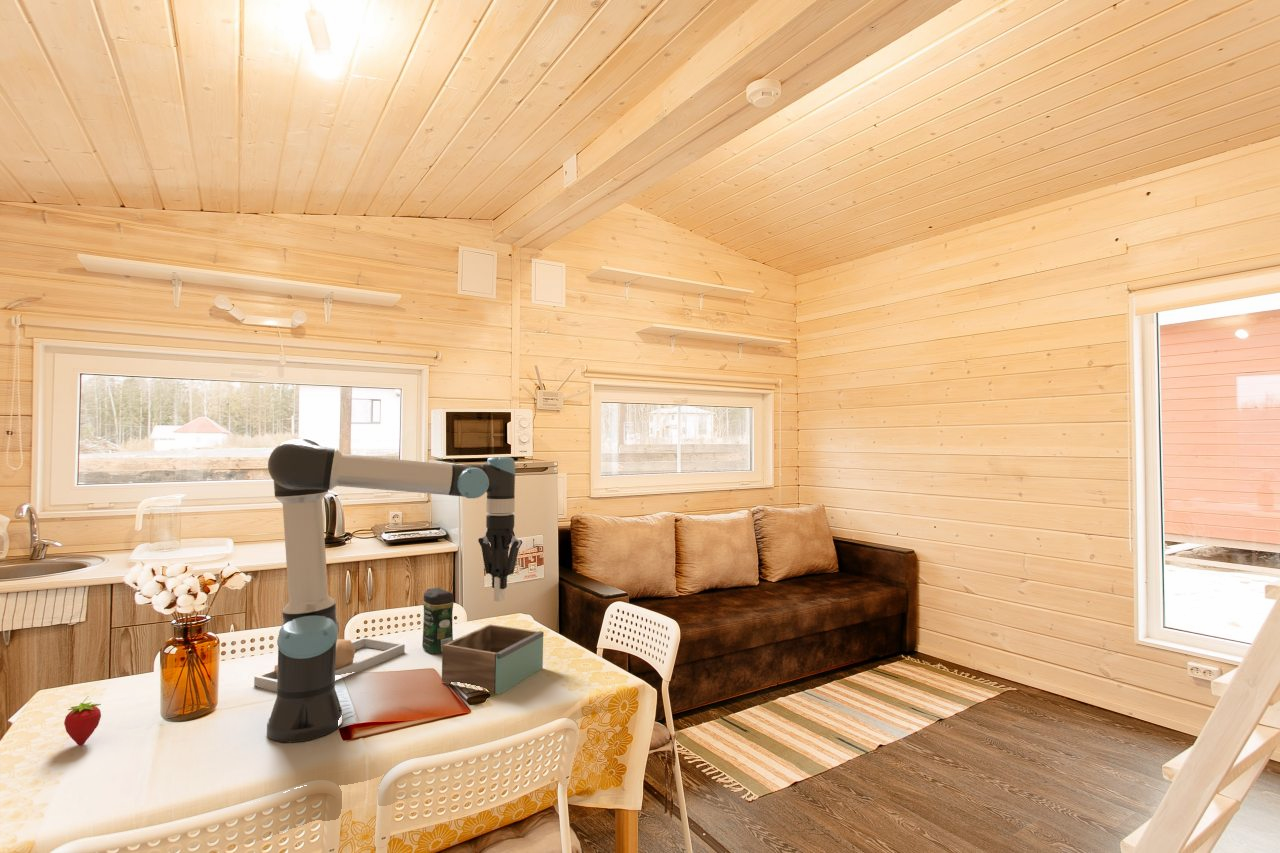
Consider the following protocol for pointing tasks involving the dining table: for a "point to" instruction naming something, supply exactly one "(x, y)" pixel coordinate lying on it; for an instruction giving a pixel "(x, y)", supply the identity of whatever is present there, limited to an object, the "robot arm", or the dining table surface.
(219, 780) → the dining table surface
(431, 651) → the coffee jar
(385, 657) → the serving tray
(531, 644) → the panel
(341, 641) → the squash
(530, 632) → the crate
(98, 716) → the decorative fruit
